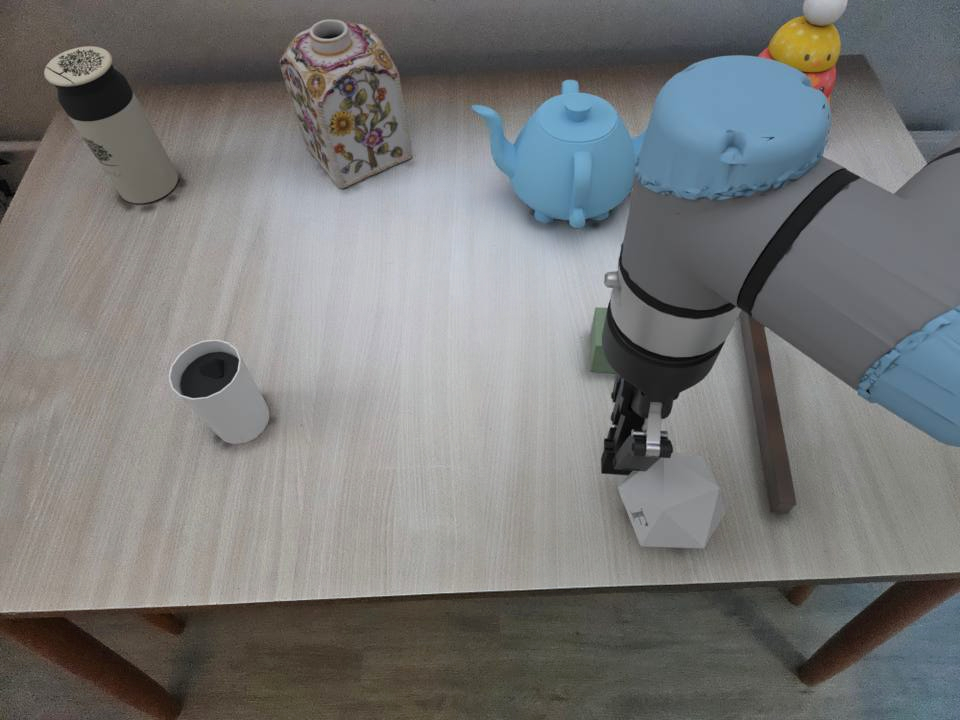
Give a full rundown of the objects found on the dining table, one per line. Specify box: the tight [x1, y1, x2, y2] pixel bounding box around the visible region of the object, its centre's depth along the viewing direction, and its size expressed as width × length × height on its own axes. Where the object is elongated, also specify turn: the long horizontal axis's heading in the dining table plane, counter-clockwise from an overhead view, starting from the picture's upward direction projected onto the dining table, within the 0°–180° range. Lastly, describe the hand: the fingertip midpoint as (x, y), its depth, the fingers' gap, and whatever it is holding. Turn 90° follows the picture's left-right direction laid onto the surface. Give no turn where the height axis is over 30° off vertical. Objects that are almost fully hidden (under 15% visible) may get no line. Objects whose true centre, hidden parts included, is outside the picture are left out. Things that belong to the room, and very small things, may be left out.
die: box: [617, 452, 727, 549], centre depth 57 cm, size 8×9×10 cm
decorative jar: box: [278, 19, 413, 190], centre depth 84 cm, size 12×12×18 cm
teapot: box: [471, 79, 647, 229], centre depth 79 cm, size 16×20×14 cm
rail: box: [738, 310, 798, 515], centre depth 71 cm, size 44×2×2 cm, turn 175°
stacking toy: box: [757, 0, 849, 105], centre depth 83 cm, size 14×14×20 cm
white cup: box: [167, 338, 271, 445], centre depth 64 cm, size 7×7×10 cm
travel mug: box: [43, 45, 179, 204], centre depth 82 cm, size 8×8×18 cm
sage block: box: [589, 306, 616, 374], centre depth 69 cm, size 5×5×5 cm
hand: (615, 467), depth 60 cm, fingers closed
